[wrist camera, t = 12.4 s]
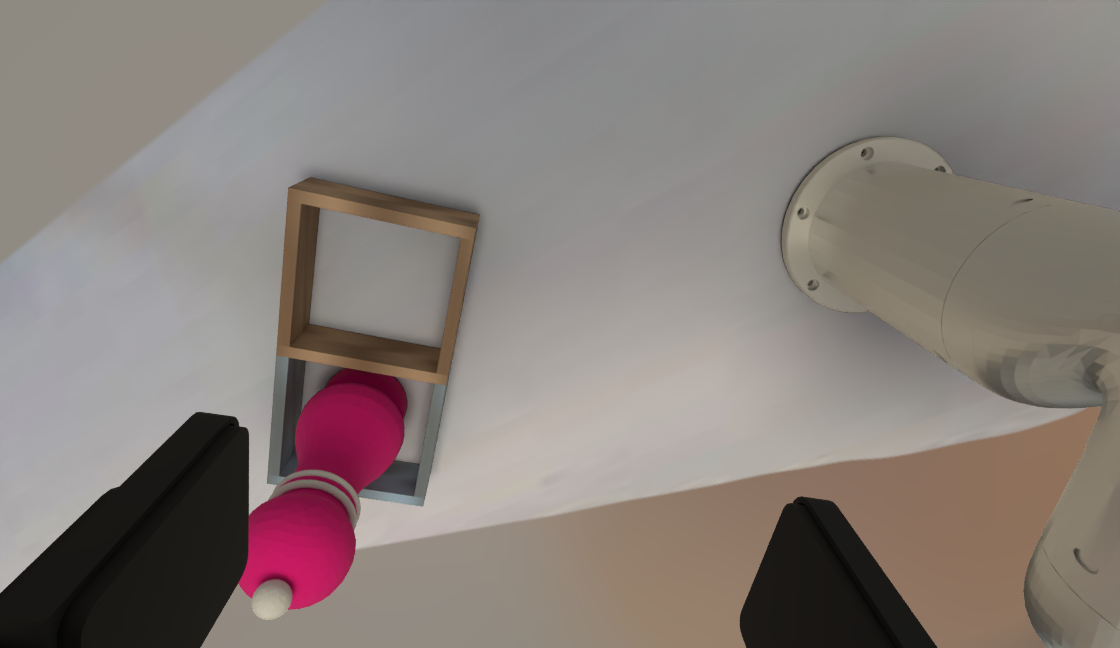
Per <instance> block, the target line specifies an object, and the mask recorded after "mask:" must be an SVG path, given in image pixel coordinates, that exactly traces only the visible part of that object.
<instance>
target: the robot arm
mask: <svg viewBox="0 0 1120 648" xmlns="http://www.w3.org/2000/svg"><path fill="white" fill-rule="evenodd" d="M862 151H863V154H862V155H861V152H862ZM799 209H801V212H800V213H799V214H797V212H798V211H799ZM781 246H782V252H783V259H784V262H785V265H786V268H787V270H788V273H789V275H790V276H791V278H792V279H793V281H794V282H795V284H796V286H797V287H798V288H799V289H800V290H802V291H803V292H804V293H805V294H806V295H807V296H808V297H810V298H811V299H813V300H814V301H815V302H817V303H818V304H820V305H823V306H825V307H827V308H829V309H832V310H837V311H841V312H850V313H862V312H868V311H870V312H871V313H873V314H874V315H876V316H877V317H879V318H880V319H882V320H883V321H885V322H886V323H888V324H889V325H891V326H892V327H894V328H895V329H897V330H898V331H900V332H901V333H903V334H904V335H906V336H907V337H909V338H910V339H912V340H913V341H915V342H916V343H918V344H919V345H921V346H922V347H924V348H925V349H927V350H928V351H930V352H931V353H933V354H934V355H936V356H937V357H939V358H940V359H942V360H943V361H945V362H946V363H948V364H949V365H951V366H952V367H954V368H955V369H957V370H959V371H960V372H962V373H963V374H965V375H966V376H968V377H969V378H971V379H972V380H974V381H975V382H977V383H978V384H980V385H981V386H983V387H984V388H986V389H988V390H990V391H992V392H993V393H995V394H997V395H999V396H1002V397H1004V398H1007V399H1009V400H1012V401H1015V402H1018V403H1023V404H1027V405H1032V406H1037V407H1045V408H1086V407H1097V406H1102V407H1101V411H1100V415H1099V417H1098V419H1097V421H1096V424H1095V426H1094V428H1093V430H1092V433H1091V434H1090V436H1089V438H1088V440H1087V442H1086V445H1085V451H1084V453H1083V455H1082V457H1081V459H1080V460H1079V462H1078V464H1077V466H1076V468H1075V470H1074V472H1073V474H1072V476H1071V478H1070V480H1069V482H1068V484H1067V486H1066V488H1065V490H1064V492H1063V494H1062V495H1061V497H1060V499H1059V501H1058V503H1057V505H1056V507H1055V509H1054V511H1053V513H1052V515H1051V517H1050V519H1049V520H1048V523H1047V524H1046V527H1045V528H1044V530H1043V533H1042V536H1041V537H1040V539H1039V541H1038V543H1037V545H1036V547H1035V550H1034V552H1033V555H1032V557H1031V559H1030V562H1029V564H1028V567H1027V571H1026V575H1025V581H1024V590H1023V591H1024V600H1025V608H1026V611H1027V613H1028V616H1029V619H1030V621H1031V624H1032V626H1033V628H1034V630H1035V632H1036V633H1037V635H1038V636H1039V638H1040V639H1041V641H1042V642H1043V644H1044V645H1045V647H1046V648H1120V211H1117V210H1113V209H1108V208H1103V207H1099V206H1094V205H1090V204H1085V203H1080V202H1076V201H1071V200H1067V199H1062V198H1057V197H1053V196H1048V195H1044V194H1039V193H1035V192H1030V191H1026V190H1021V189H1017V188H1012V187H1008V186H1003V185H999V184H994V183H990V182H985V181H981V180H976V179H972V178H967V177H963V176H958V175H954V173H953V171H952V169H951V167H950V166H949V165H948V163H947V162H946V161H945V160H944V159H943V158H942V156H941V155H940V154H938V153H937V152H935V151H934V150H933V149H931V148H930V147H928V146H926V145H924V144H921V143H919V142H916V141H914V140H909V139H904V138H899V137H875V138H869V139H863V140H860V141H858V142H855V143H852V144H849V145H846V146H845V147H843V148H841V149H839V150H838V151H836V152H834V153H832V154H831V155H829V156H828V157H827V158H826V159H824V160H823V161H822V162H821V163H819V164H818V165H817V166H816V167H815V168H814V169H813V170H812V171H811V172H810V173H809V174H808V176H807V177H806V178H805V179H804V180H803V181H802V183H801V185H800V186H799V188H798V189H797V191H796V192H795V194H794V195H793V198H792V200H791V202H790V205H789V207H788V209H787V212H786V215H785V219H784V224H783V228H782V244H781ZM809 281H810V283H809ZM808 283H809V284H808ZM248 552H249V432H248V429H247V428H245V427H239V422H238V420H237V418H235V417H233V416H225V415H218V414H211V413H204V412H196V413H195V414H194V415H192V416H191V417H190V418H189V419H188V420H187V421H186V422H185V423H184V424H183V425H182V426H181V427H180V428H179V429H178V430H177V431H176V432H175V433H174V434H173V435H172V436H171V437H170V438H169V439H168V440H167V441H166V442H165V443H164V444H162V445H161V446H160V447H159V448H158V449H157V450H156V451H155V452H154V453H153V454H152V455H151V456H150V457H149V458H148V459H147V460H146V461H145V462H144V463H143V464H142V465H141V466H140V467H139V468H138V469H137V470H136V471H135V472H134V473H133V474H132V475H131V476H130V477H129V478H128V479H127V480H126V481H125V482H124V483H123V484H122V485H121V486H120V487H116V488H113V489H110V490H109V491H108V492H106V493H105V494H104V495H102V496H101V497H100V498H99V499H98V500H97V501H96V502H95V503H94V504H93V505H92V506H91V507H90V508H89V509H88V510H87V511H85V512H84V513H83V514H82V515H81V516H80V517H79V518H78V519H77V520H76V521H75V522H74V523H73V524H72V525H71V526H70V527H69V528H68V529H67V530H66V531H65V532H64V533H63V534H62V535H61V536H59V537H58V538H57V539H56V540H55V541H54V542H53V543H52V544H51V545H50V546H49V547H48V548H47V549H46V550H45V551H44V552H43V553H42V554H41V555H40V556H39V557H38V558H37V559H36V560H35V561H33V562H32V563H31V564H30V565H29V566H28V567H27V568H26V569H25V570H24V571H23V572H22V573H21V574H20V575H19V576H18V577H17V578H16V579H15V580H14V581H13V582H12V583H11V584H10V585H8V586H7V587H6V588H5V589H4V590H3V591H2V592H1V593H0V648H200V647H201V646H202V644H203V642H204V640H205V639H206V637H207V635H208V633H209V632H210V630H211V628H212V627H213V625H214V623H215V622H216V620H217V618H218V616H219V615H220V613H221V612H222V610H223V608H224V606H225V605H226V603H227V601H228V600H229V598H230V596H231V595H232V593H233V591H234V589H235V588H236V586H237V584H238V583H239V581H240V579H241V577H242V575H243V573H244V571H245V568H246V564H247V560H248ZM740 630H741V634H742V637H743V640H744V642H745V645H746V648H937V646H936V645H935V643H934V642H933V641H932V639H931V638H930V636H929V635H928V634H927V632H926V631H925V629H924V628H923V627H922V625H921V624H920V622H919V621H918V619H917V618H916V617H915V615H914V614H913V612H911V610H910V608H909V607H908V605H907V604H906V603H905V601H904V600H903V599H902V597H901V596H900V594H899V593H898V591H897V590H896V589H895V587H894V586H893V584H892V583H891V581H890V580H889V579H888V577H887V576H886V574H885V573H884V572H883V570H882V569H881V567H880V566H879V565H878V563H877V562H876V560H875V559H874V558H873V556H872V555H871V553H870V552H869V551H868V549H867V548H866V546H865V545H864V544H863V542H862V541H861V539H860V538H859V537H858V535H857V534H856V532H855V531H854V529H853V528H852V527H851V525H850V524H849V522H848V521H847V520H846V518H845V517H844V515H843V514H842V513H841V511H840V510H839V508H838V507H837V506H836V505H835V504H834V503H833V502H831V501H829V500H822V499H815V498H808V497H798V498H797V499H795V500H794V502H793V503H790V504H787V505H786V506H785V507H784V509H783V511H782V513H781V516H780V518H779V521H778V523H777V525H776V528H775V530H774V533H773V535H772V538H771V540H770V542H769V545H768V547H767V550H766V552H765V555H764V557H763V560H762V562H761V564H760V567H759V570H758V572H757V574H756V577H755V579H754V582H753V584H752V586H751V589H750V592H749V594H748V596H747V599H746V601H745V604H744V606H743V609H742V611H741V615H740Z"/></svg>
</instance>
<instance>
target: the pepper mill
mask: <svg viewBox="0 0 1120 648" xmlns="http://www.w3.org/2000/svg"><path fill="white" fill-rule="evenodd" d="M406 409H407V399H406V394H405V392H404V390H403V388H402V386H401V384H400V383H399V382H398V381H397V380H396V379H395V378H394V377H393V376H389V375H384V374H378V373H372V372H367V371H361V370H356V369H350V368H346V369H343V370H341V371H340V372H338V373H337V374H336V375H334V376H333V377H332V378H331V379H330V381H329V382H328V384H327V385H326V387H325V389H323V390H321V391H319V392H318V393H317V394H315V395H314V396H313V397H312V398H311V399H310V400H309V401H308V402H307V404H306V405H305V407H304V409H303V411H302V413H301V415H300V417H299V420H298V422H297V427H296V436H295V446H296V452H297V457H298V462H299V463H298V466H297V469H296V471H295V473H293V474H290V475H289V476H287V477H286V478H284V479H283V480H282V481H280V482H279V484H278V485H277V486H276V488H275V489H274V492H273V494H272V495H271V496H270V498H269V500H268V501H267V502H265V503H263V504H261V505H260V506H259V507H257V508H256V509H255V510H254V511H253V512H252V513H251V514H250V515H249V552H248V560H247V564H246V568H245V571H244V573H243V575H242V577H241V579H240V581H239V583H238V584H239V585H240V587H241V588H242V589H243V591H244V592H245V593H246V594H247V595H248V596H249V597H250V598H252V609H253V611H254V613H255V614H256V615H257V616H258V617H260V618H262V619H264V620H271V619H276V618H278V617H280V616H281V615H283V614H284V613H285V612H286V611H287V610H290V609H300V608H304V607H308V606H311V605H313V604H315V603H317V602H319V601H321V600H323V599H325V598H326V597H327V596H329V595H330V594H331V593H332V592H333V591H334V590H335V589H336V588H337V587H338V586H339V585H340V584H341V583H342V581H343V580H344V578H345V576H346V575H347V573H348V571H349V569H350V567H351V565H352V562H353V559H354V554H355V546H356V539H355V534H354V529H355V527H356V523H357V521H358V519H359V515H360V510H361V507H360V501H359V497H358V495H359V493H360V491H361V490H362V489H363V488H364V487H366V486H367V485H368V484H370V483H371V482H373V481H374V480H375V479H377V478H378V477H380V476H381V475H382V474H383V473H384V472H385V471H386V470H387V469H388V467H389V466H390V465H391V464H392V463H393V461H394V460H395V458H396V456H397V455H398V453H399V451H400V448H401V446H402V444H403V440H404V421H403V419H404V416H405V413H406Z"/></svg>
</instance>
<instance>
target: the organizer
mask: <svg viewBox="0 0 1120 648" xmlns="http://www.w3.org/2000/svg"><path fill="white" fill-rule="evenodd" d="M320 208H324V209H329V210H333V211H338V212H343V213H347V214H352V215H357V216H361V217H366V218H371V219H375V220H380V221H385V222H389V223H394V224H399V225H403V226H408V227H413V228H417V229H422V230H426V231H431V232H436V233H440V234H445V235H450V236H454V237H459V238H461V241H460V247H459V252H458V258H457V263H456V269H455V274H454V280H453V285H452V291H451V296H450V302H449V307H448V313H447V318H446V324H445V329H444V335H443V340H442V346H441V349H439V348H434V347H428V346H423V345H418V344H412V343H407V342H401V341H396V340H391V339H385V338H380V337H375V336H369V335H364V334H359V333H353V332H348V331H343V330H337V329H332V328H326V327H321V326H316V325H310V324H309V318H310V307H311V297H312V286H313V275H314V264H315V253H316V242H317V232H318V221H319V210H320ZM479 217H480V215H477V214H473V213H468V212H464V211H459V210H455V209H450V208H445V207H441V206H436V205H432V204H427V203H423V202H418V201H414V200H409V199H405V198H400V197H396V196H391V195H387V194H382V193H378V192H373V191H369V190H364V189H360V188H355V187H351V186H346V185H342V184H337V183H332V182H328V181H323V180H319V179H314V178H308V179H306V180H304V181H301V182H299V183H297V184H295V185H293V186H291V187H289V188H288V200H287V214H286V228H285V242H284V256H283V269H282V283H281V297H280V311H279V325H278V339H277V352H276V366H275V380H274V394H273V408H272V422H271V435H270V449H269V463H268V477H267V484H274V485H278V484H279V482H280V481H282V480H283V479H284V478H286V477H287V476H289V475H290V474H293V473H295V471H296V469H297V466H298V463H299V462H298V457H297V452H296V446H295V436H296V427H297V422H298V420H299V417H300V415H301V405H302V394H303V383H304V372H305V362H306V361H311V362H316V363H322V364H327V365H333V366H339V367H344V368H350V369H356V370H361V371H367V372H372V373H378V374H384V375H389V376H395V377H401V378H406V379H412V380H417V381H423V382H429V383H434V389H433V395H432V400H431V406H430V411H429V417H428V422H427V428H426V433H425V439H424V444H423V450H422V455H421V461H420V465H419V464H413V463H407V462H400V461H393V463H392V464H391V465H390V466H389V467H388V469H387V470H386V471H385V472H384V473H383V474H382V475H381V476H380V477H378V478H377V479H375V480H374V481H373V482H371V483H370V484H368V485H367V486H366V487H364V488H363V489H362V490H361V491H360V493H359V495H358V497H362V498H368V499H375V500H382V501H389V502H396V503H402V504H409V505H416V506H423V505H424V500H425V496H426V491H427V487H428V482H429V478H430V473H431V468H432V463H433V457H434V452H435V447H436V442H437V437H438V431H439V426H440V421H441V416H442V410H443V405H444V400H445V395H446V389H447V384H448V379H449V374H450V368H451V363H452V358H453V353H454V347H455V342H456V337H457V332H458V327H459V321H460V316H461V311H462V306H463V300H464V295H465V290H466V285H467V279H468V274H469V269H470V264H471V258H472V253H473V248H474V243H475V237H476V232H477V227H478V222H479Z"/></svg>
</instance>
